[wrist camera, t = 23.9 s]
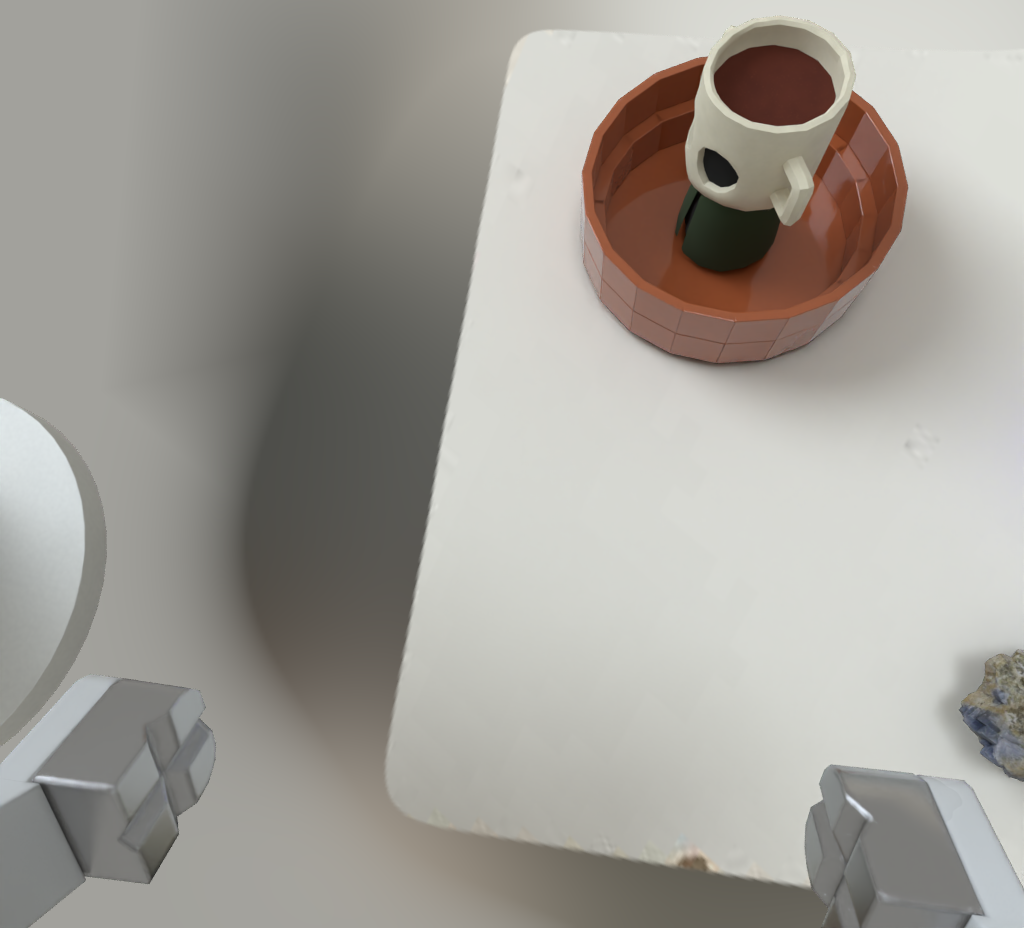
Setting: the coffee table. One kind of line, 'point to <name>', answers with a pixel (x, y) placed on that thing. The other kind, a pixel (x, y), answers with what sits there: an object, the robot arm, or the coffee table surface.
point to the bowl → (741, 292)
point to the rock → (1000, 713)
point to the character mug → (759, 136)
